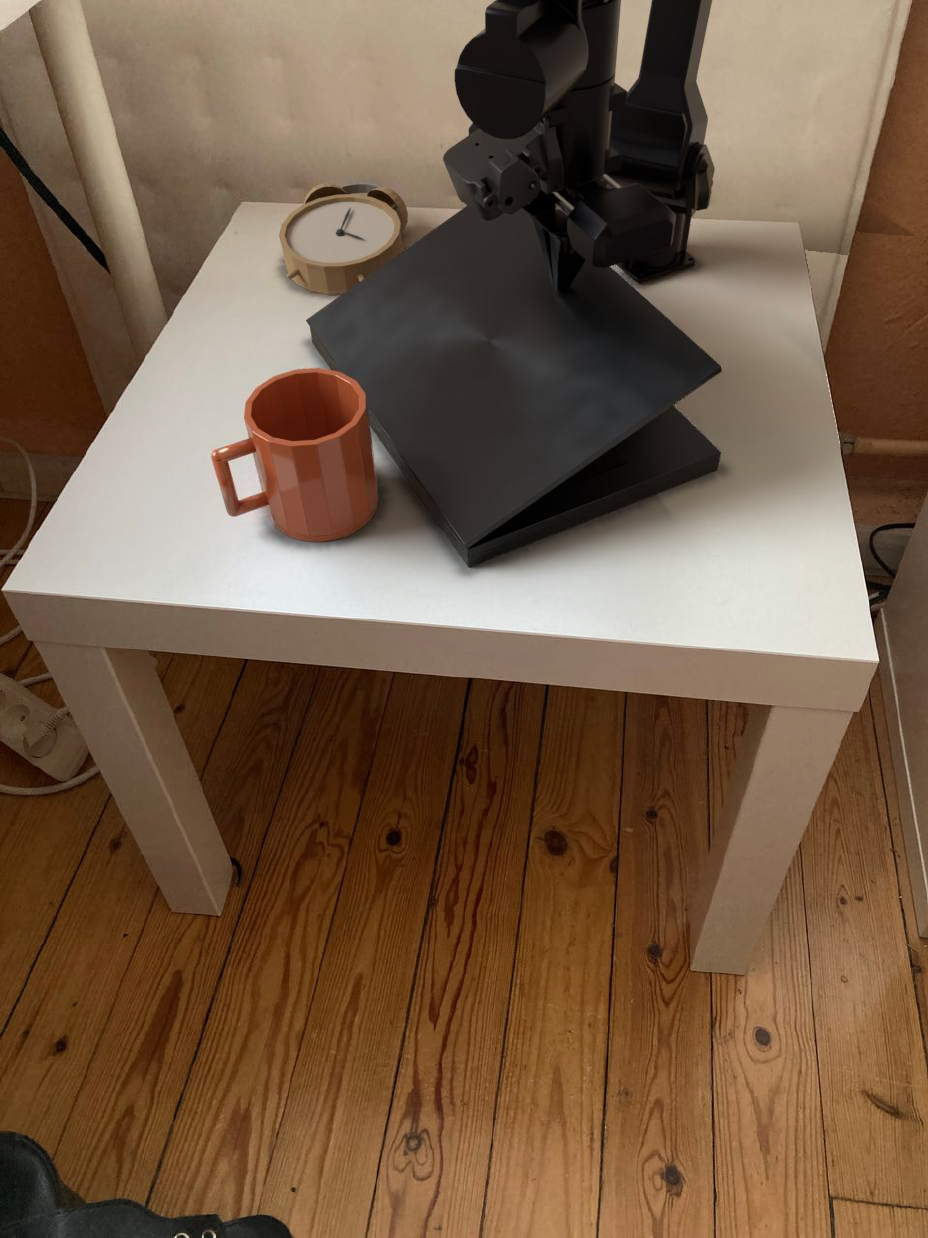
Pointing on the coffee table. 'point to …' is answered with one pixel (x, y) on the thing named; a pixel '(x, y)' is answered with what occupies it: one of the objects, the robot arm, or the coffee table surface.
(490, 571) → the coffee table surface
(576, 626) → the coffee table surface
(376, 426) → the laptop
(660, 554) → the coffee table surface
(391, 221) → the alarm clock
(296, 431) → the mug
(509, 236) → the laptop screen
